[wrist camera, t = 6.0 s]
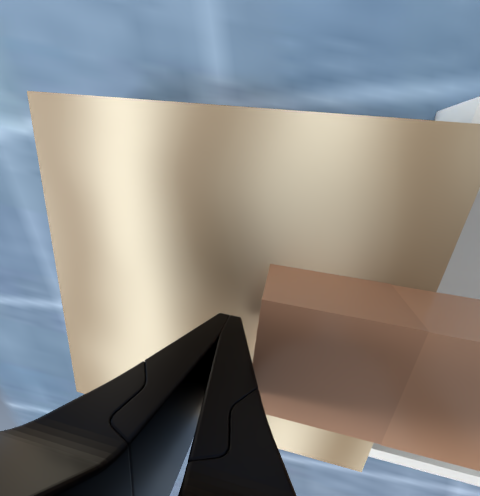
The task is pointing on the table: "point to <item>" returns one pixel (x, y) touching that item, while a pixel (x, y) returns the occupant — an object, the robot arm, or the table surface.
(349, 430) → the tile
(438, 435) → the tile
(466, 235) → the tray
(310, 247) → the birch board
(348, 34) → the table surface
